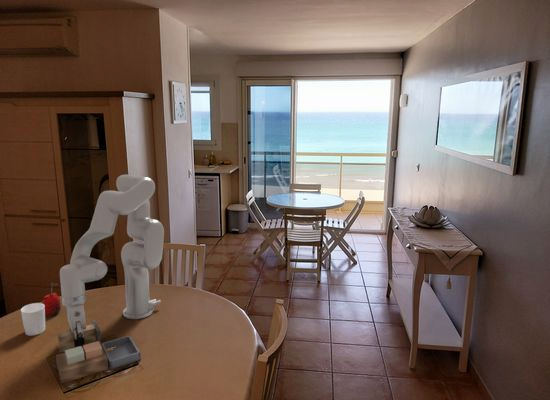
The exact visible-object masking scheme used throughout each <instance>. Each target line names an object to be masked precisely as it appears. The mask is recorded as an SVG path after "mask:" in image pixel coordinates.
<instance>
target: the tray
mask: <svg viewBox="0 0 550 400" xmlns="http://www.w3.org/2000/svg"><path fill="white" fill-rule="evenodd" d="M101 345H102V347H103V350H104V352H105V354H106V356H107V358H108V369H110V370H111V371H112V370H115V369H118V368H121V367H124V366H127V365H130V364H133V363H136V362H140V361H141V351H140V350H139V348H138V346H137V345H136V343H135V342H134V339H133V338H132V337H131V335H126V336H123V337H120V338H119V337H118V338H115V339H112V340H107V341H105V342H101ZM115 346H116V347H115ZM111 347H115V348H113V350H109V351H107V350H106V348H111Z"/></svg>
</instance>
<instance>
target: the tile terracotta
mask: <svg viewBox="0 0 550 400" xmlns="http://www.w3.org/2000/svg"><path fill="white" fill-rule="evenodd" d="M82 348H83V351H84V355H85V357H86V359H89V358H93V357H96V356H99V355H102V347H101V345H100V343H99V341H97V342H93V343H90V344H86V345H83V347H82Z"/></svg>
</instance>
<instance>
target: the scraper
mask: <svg viewBox="0 0 550 400" xmlns="http://www.w3.org/2000/svg"><path fill="white" fill-rule="evenodd" d="M75 330H77V329H75ZM77 334H78V332H76V335H77ZM83 335H84V342H85V345H86V344H90V343H93V342H97V341H99V343H102V337H101V336H102V335H101V328H100V327H99V325H98V323H97V321H96V320H95V319H94V320H91V324H88V325H87V324H86V330H85V329H84V330H83ZM74 339H75V336H74V333H73V332H72V331H71V330H70V329H68V330H65V331H60V332H58V333H57V342H58V343H57V344H58V350H59V354H61V353H65V350H68V349H72V348H75V345H74Z"/></svg>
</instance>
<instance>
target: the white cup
mask: <svg viewBox="0 0 550 400" xmlns="http://www.w3.org/2000/svg"><path fill="white" fill-rule="evenodd" d="M20 313H21V318H22V319H21V320H22V324H23V328H24V333H25V335H26V336H29V337H30V336H37V335H40V334H42V333H43V332H45V330H46V316H45V305H44V304H42V302H34V303H29V304H26V305H24V306H22V308H20Z"/></svg>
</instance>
